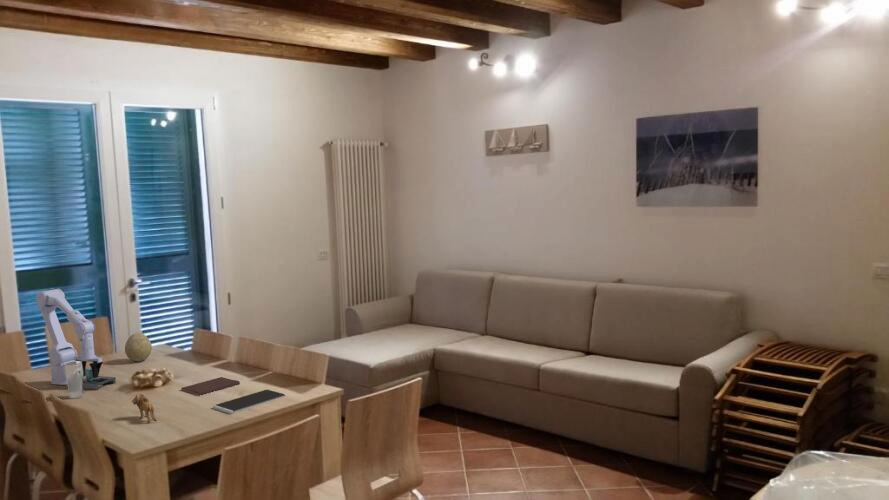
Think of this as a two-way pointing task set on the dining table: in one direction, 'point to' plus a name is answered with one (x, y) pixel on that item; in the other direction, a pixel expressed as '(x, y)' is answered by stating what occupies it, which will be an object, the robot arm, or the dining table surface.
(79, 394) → the beer glass
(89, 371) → the peg
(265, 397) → the smartphone
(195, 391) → the notebook
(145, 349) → the fossilized egg
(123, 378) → the dining table surface
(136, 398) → the lion figurine
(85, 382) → the keyhole plate
